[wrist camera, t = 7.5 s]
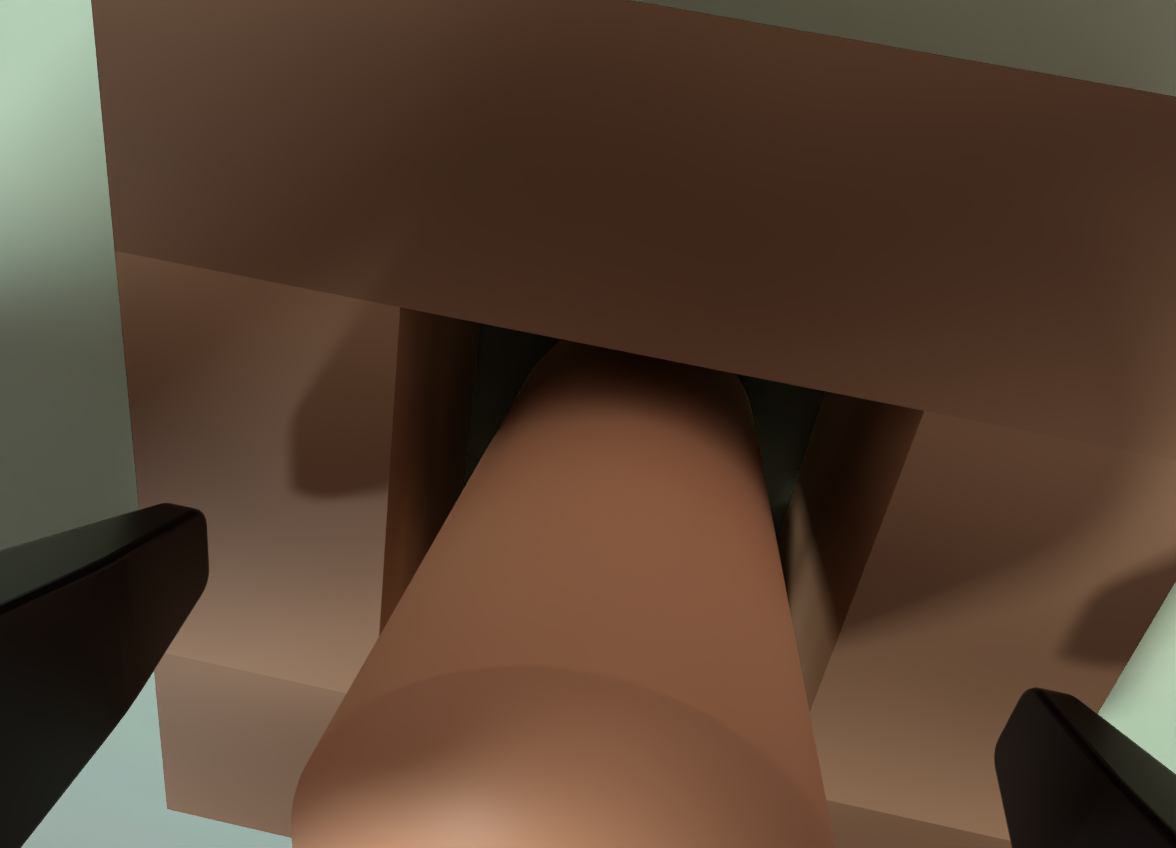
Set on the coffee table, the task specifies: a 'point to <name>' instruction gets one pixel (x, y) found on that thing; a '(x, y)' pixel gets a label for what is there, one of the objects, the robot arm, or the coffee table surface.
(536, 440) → the peg
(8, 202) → the coffee table surface
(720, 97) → the hole block
